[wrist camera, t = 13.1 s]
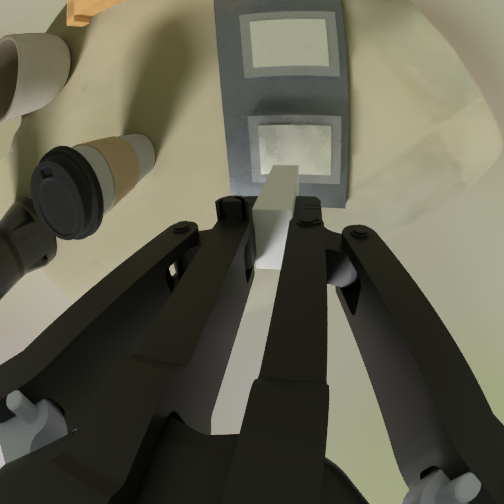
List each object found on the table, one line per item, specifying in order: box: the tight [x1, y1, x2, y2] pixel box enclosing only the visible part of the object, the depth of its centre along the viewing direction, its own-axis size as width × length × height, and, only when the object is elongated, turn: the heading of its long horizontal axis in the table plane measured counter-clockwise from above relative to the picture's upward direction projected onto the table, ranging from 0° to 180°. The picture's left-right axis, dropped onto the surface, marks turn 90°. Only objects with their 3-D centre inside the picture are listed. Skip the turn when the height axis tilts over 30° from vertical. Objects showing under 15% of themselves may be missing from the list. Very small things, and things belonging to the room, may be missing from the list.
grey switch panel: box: [214, 0, 349, 208], centre depth 22 cm, size 13×30×5 cm, turn 4°
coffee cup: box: [31, 134, 155, 240], centre depth 26 cm, size 9×9×15 cm
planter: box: [0, 33, 71, 123], centre depth 21 cm, size 12×12×11 cm
